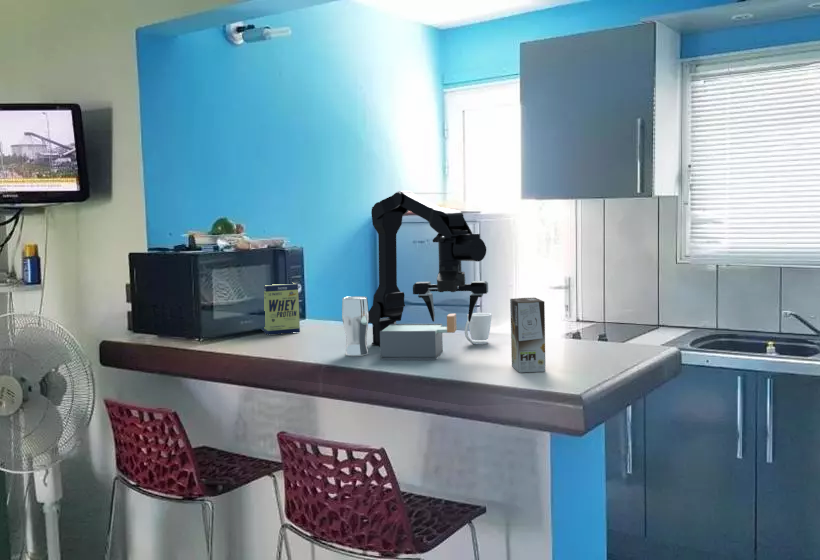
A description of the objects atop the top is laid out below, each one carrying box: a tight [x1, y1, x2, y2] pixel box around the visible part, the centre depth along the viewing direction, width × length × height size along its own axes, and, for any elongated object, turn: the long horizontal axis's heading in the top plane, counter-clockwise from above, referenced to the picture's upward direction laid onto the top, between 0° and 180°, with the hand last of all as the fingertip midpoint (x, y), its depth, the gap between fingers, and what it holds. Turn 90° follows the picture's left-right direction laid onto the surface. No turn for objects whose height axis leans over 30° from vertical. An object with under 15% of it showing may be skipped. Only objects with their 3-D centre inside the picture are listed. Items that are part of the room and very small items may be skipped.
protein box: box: [263, 282, 301, 336], centre depth 257 cm, size 10×16×16 cm
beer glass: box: [341, 295, 370, 357], centre depth 210 cm, size 7×7×15 cm
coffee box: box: [509, 297, 546, 373], centre depth 184 cm, size 9×6×16 cm
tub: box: [379, 323, 444, 361], centre depth 206 cm, size 14×13×7 cm
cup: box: [464, 312, 493, 345], centre depth 221 cm, size 7×10×8 cm
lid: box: [382, 313, 458, 335], centre depth 206 cm, size 18×11×4 cm, turn 80°
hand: (451, 321), depth 204 cm, fingers open, 9 cm apart
